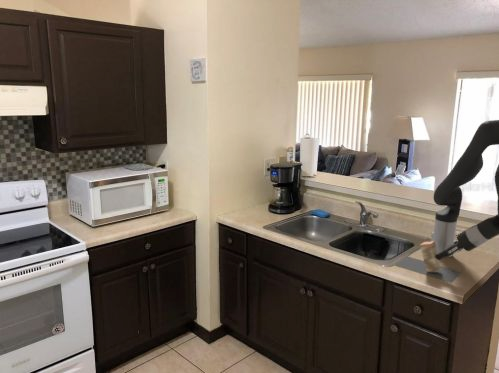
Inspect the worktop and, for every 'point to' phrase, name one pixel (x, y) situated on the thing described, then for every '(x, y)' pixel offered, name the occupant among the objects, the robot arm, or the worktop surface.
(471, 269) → the worktop surface
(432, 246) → the birch block
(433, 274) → the rubber mat
